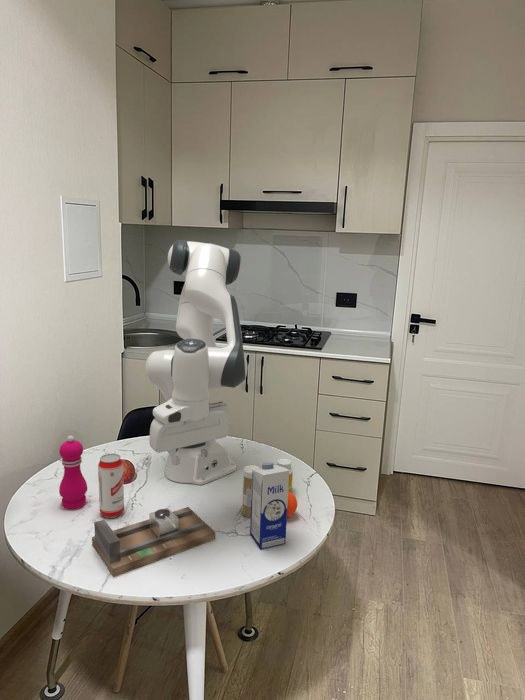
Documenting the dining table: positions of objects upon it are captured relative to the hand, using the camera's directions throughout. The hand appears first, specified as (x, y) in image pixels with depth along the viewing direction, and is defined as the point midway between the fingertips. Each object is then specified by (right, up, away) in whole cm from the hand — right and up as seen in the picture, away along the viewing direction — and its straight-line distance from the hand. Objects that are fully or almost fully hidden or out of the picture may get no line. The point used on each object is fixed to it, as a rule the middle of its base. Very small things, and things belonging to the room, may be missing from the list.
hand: (190, 460), depth 130 cm
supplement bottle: (+24, -15, +25) cm, 38 cm away
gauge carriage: (-6, -18, -2) cm, 18 cm away
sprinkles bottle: (+14, -17, +13) cm, 26 cm away
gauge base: (-9, -20, -1) cm, 22 cm away
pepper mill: (-34, -15, +14) cm, 40 cm away
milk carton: (+19, -20, +2) cm, 28 cm away
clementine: (+24, -18, +12) cm, 32 cm away
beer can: (-22, -17, +11) cm, 30 cm away
